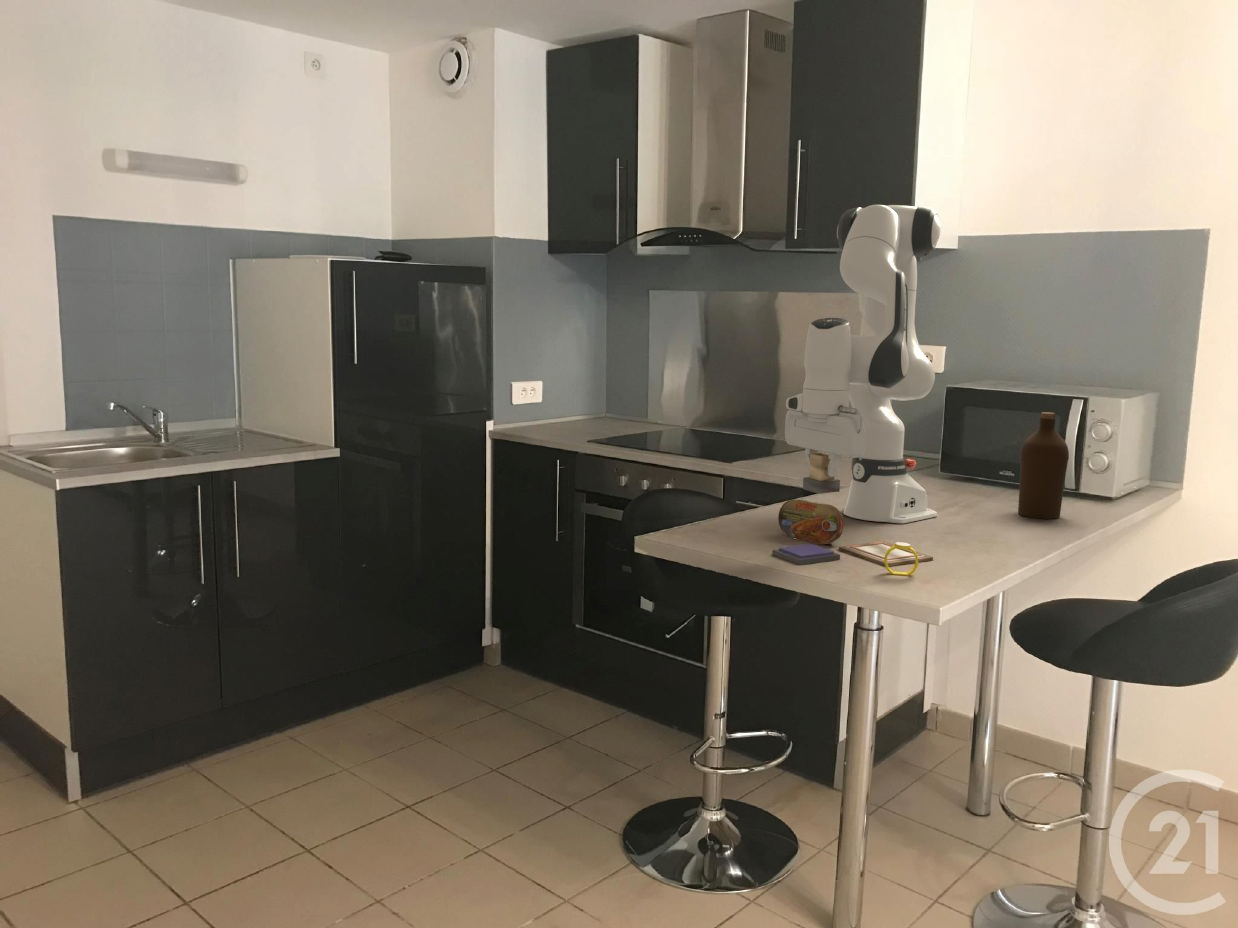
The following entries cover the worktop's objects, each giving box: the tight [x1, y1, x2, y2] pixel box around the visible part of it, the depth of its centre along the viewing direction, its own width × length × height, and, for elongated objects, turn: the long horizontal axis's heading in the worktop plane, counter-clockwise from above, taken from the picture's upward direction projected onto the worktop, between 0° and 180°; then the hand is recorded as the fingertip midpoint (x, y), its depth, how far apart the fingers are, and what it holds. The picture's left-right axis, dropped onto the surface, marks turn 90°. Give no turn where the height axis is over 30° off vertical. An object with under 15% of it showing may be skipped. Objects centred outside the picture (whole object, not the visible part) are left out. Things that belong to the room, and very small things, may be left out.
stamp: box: [802, 452, 841, 495], centre depth 191 cm, size 5×5×7 cm
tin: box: [777, 499, 844, 545], centre depth 206 cm, size 15×3×8 cm, turn 45°
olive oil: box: [1017, 411, 1070, 520], centre depth 236 cm, size 11×11×25 cm
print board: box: [837, 540, 934, 567], centre depth 196 cm, size 12×14×1 cm
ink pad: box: [771, 543, 841, 566], centre depth 193 cm, size 10×8×2 cm
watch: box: [884, 541, 919, 577], centre depth 181 cm, size 6×3×6 cm, turn 78°
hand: (822, 474), depth 191 cm, fingers closed on stamp, 3 cm apart
